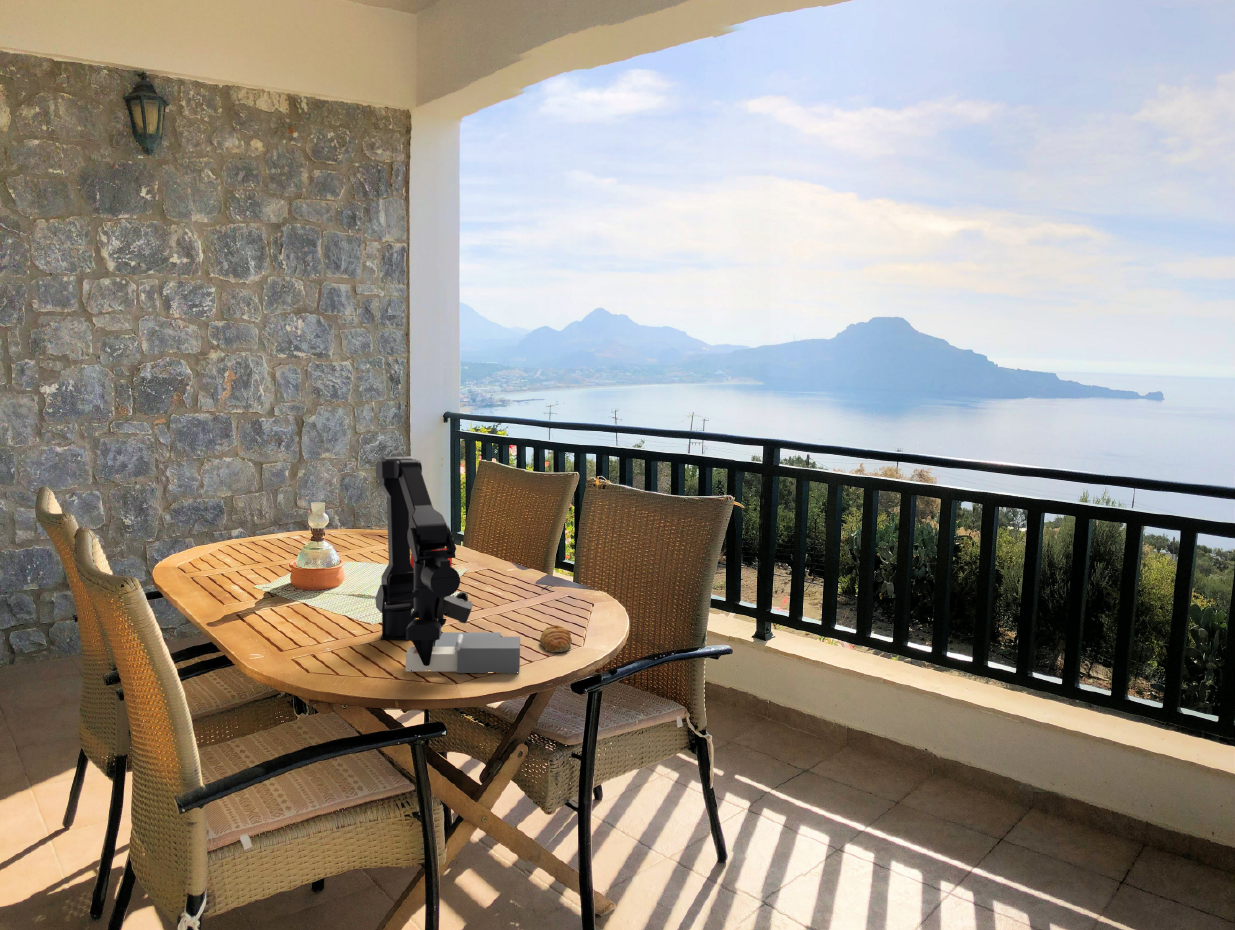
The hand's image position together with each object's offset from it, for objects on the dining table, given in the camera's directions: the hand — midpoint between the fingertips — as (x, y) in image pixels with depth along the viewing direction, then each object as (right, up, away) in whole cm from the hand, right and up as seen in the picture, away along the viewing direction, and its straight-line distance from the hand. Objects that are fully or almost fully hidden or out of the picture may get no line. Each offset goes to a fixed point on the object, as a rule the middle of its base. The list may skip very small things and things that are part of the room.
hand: (428, 661), depth 170 cm
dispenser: (+12, -2, +1) cm, 12 cm away
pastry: (+24, -1, +16) cm, 29 cm away
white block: (+3, -1, 0) cm, 3 cm away
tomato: (-15, +7, +72) cm, 73 cm away
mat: (+4, 0, +14) cm, 15 cm away
